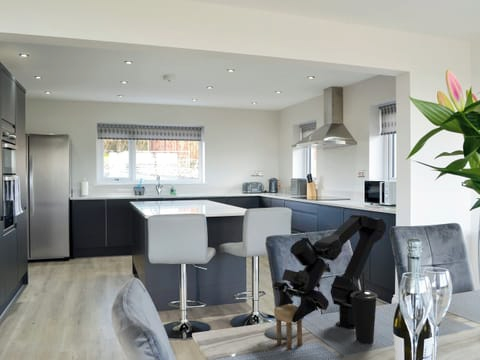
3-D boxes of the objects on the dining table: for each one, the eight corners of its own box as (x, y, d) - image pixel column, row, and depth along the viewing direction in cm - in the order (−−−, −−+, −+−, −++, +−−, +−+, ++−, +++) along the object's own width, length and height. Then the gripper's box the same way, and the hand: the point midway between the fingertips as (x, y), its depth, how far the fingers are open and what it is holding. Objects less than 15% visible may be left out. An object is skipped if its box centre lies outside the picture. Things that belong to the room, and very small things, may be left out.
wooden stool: (289, 338, 127) (289, 303, 127) (304, 344, 122) (303, 308, 122) (274, 343, 123) (274, 307, 123) (289, 349, 118) (288, 312, 118)
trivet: (277, 325, 139) (277, 324, 139) (303, 332, 132) (303, 330, 132) (258, 334, 131) (258, 332, 131) (285, 341, 124) (285, 339, 124)
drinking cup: (348, 343, 123) (347, 274, 123) (354, 334, 130) (353, 269, 130) (375, 347, 119) (374, 276, 119) (380, 338, 126) (379, 271, 126)
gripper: (276, 254, 132) (249, 296, 126) (321, 263, 118) (293, 310, 111) (294, 276, 137) (270, 317, 130) (340, 286, 122) (314, 333, 116)
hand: (285, 319), depth 122 cm, fingers closed on wooden stool, 6 cm apart
